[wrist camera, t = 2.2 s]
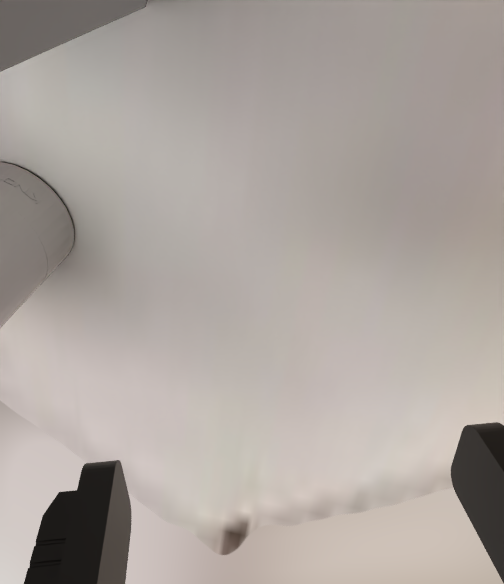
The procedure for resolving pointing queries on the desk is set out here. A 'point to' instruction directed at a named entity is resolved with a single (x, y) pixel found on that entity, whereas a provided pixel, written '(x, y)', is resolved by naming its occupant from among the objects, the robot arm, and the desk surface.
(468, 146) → the desk surface
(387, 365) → the desk surface
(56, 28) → the grey upright pillar
